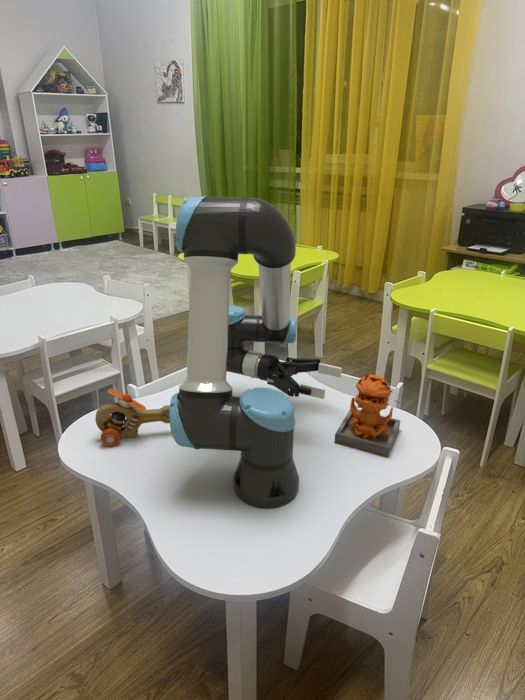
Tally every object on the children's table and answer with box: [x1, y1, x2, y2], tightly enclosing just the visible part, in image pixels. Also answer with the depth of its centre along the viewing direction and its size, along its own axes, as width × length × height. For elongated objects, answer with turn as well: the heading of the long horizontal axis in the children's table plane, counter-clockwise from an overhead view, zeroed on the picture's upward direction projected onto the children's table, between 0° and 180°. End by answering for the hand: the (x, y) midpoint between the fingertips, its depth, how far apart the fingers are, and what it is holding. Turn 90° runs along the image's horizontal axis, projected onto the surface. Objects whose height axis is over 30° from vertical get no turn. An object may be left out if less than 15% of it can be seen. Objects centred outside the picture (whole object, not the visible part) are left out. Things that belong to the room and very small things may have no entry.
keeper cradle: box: [334, 409, 401, 459], centre depth 128 cm, size 14×14×3 cm
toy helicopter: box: [95, 388, 170, 448], centre depth 125 cm, size 8×21×14 cm, turn 102°
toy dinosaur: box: [349, 372, 394, 439], centre depth 125 cm, size 11×11×18 cm
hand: (333, 382), depth 127 cm, fingers open, 13 cm apart
